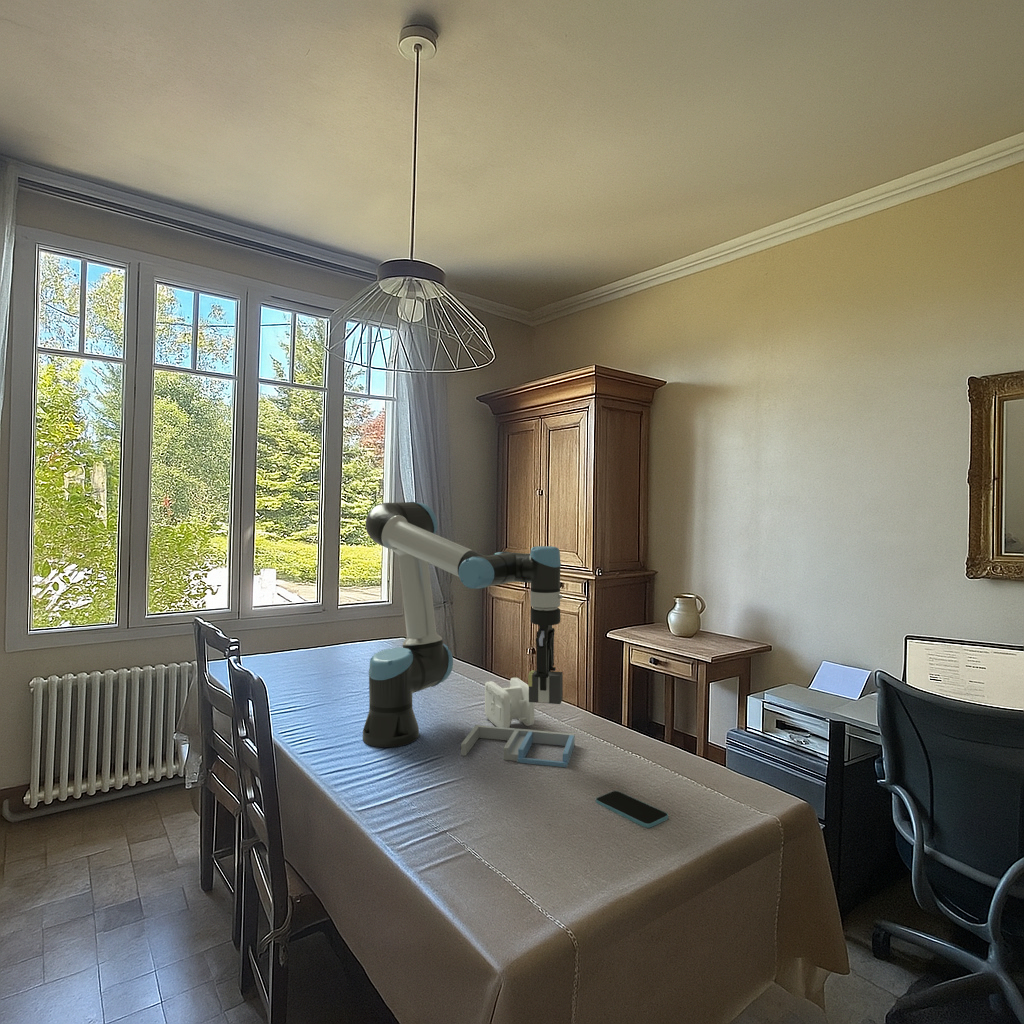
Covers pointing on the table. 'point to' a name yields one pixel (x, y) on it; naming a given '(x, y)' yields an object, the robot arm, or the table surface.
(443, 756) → the table surface
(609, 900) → the table surface
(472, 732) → the grey frame
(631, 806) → the smartphone
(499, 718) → the cable organizer
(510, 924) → the table surface
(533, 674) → the yellow-capped grey block
